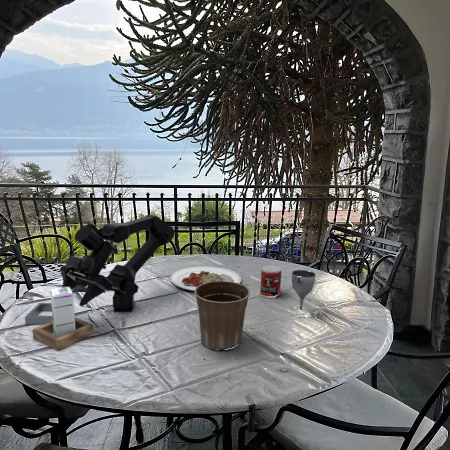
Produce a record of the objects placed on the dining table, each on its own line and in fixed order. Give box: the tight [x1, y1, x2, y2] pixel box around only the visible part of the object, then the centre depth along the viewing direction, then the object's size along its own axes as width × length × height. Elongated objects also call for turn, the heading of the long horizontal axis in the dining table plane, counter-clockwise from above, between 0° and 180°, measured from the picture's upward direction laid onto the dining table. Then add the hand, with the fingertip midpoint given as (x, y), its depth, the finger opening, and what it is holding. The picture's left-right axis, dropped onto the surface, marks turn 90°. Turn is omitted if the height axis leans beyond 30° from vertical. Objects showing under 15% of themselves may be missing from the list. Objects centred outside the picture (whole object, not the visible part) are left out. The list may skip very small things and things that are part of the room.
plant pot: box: [194, 281, 251, 350], centre depth 115 cm, size 16×16×16 cm
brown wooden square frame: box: [32, 317, 95, 351], centre depth 116 cm, size 12×12×3 cm
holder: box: [24, 302, 53, 325], centre depth 128 cm, size 11×11×2 cm
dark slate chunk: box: [71, 276, 108, 292], centre depth 158 cm, size 15×22×5 cm
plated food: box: [170, 266, 242, 292], centre depth 166 cm, size 30×30×3 cm
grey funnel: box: [291, 269, 317, 310], centre depth 135 cm, size 8×8×15 cm
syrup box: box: [49, 286, 76, 337], centre depth 115 cm, size 6×6×14 cm
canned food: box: [259, 265, 282, 296], centre depth 152 cm, size 8×8×11 cm
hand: (70, 302), depth 117 cm, fingers open, 9 cm apart
